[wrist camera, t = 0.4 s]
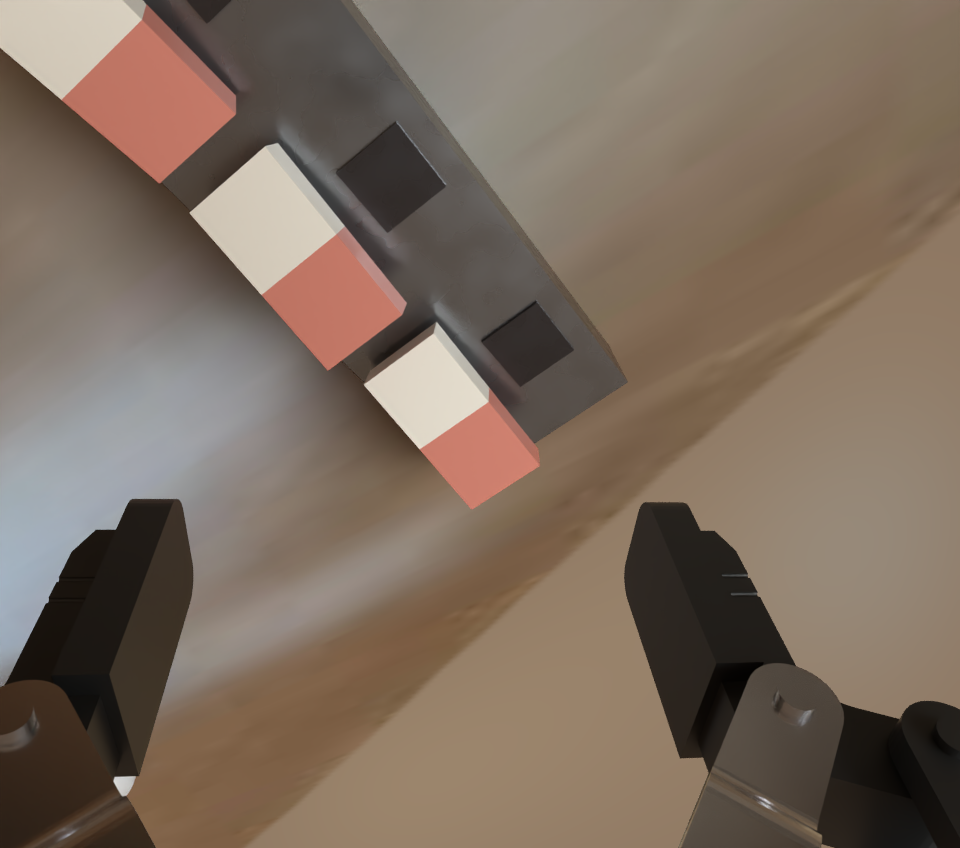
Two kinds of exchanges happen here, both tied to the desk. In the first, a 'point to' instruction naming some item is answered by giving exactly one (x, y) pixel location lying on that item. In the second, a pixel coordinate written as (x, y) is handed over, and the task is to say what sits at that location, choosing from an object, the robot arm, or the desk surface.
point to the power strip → (394, 197)
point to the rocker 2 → (299, 256)
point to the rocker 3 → (453, 416)
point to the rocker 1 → (120, 75)
